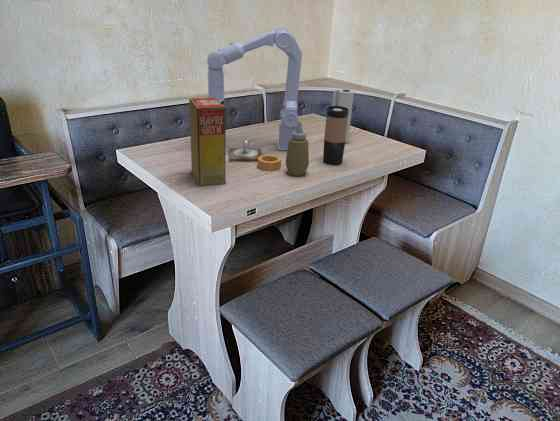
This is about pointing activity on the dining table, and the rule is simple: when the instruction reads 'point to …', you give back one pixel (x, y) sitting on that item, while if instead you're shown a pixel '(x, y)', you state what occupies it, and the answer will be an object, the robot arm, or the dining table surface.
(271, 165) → the wooden ring
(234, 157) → the walnut base plate
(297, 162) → the squeeze bottle
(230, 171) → the dining table surface
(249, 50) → the robot arm
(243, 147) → the steel shaft
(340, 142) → the travel mug
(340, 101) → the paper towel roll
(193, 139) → the food packaging
